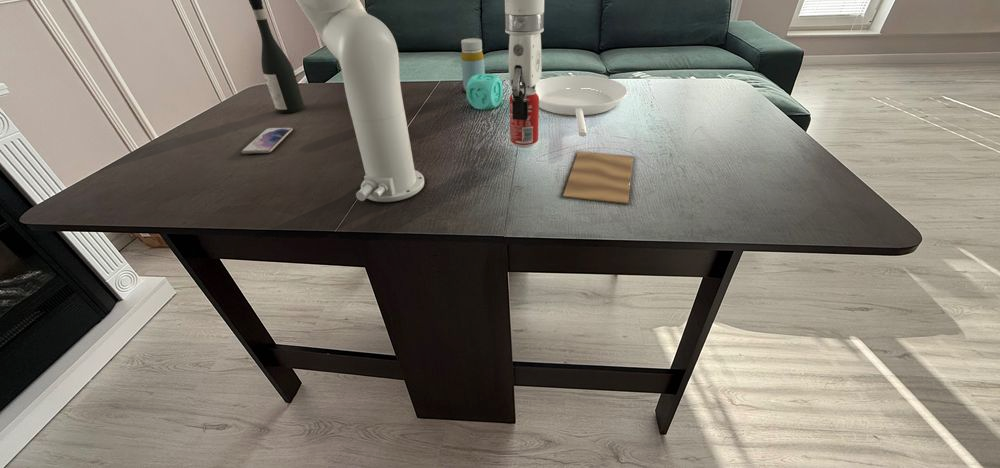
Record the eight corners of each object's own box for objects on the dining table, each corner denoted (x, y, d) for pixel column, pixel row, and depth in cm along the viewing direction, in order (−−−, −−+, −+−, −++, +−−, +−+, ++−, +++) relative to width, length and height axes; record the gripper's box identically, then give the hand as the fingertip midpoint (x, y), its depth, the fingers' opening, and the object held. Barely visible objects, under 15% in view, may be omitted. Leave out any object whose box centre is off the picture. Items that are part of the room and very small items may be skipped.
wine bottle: (281, 116, 123) (241, -1, 106) (273, 109, 128) (233, -3, 111) (308, 109, 127) (274, -4, 110) (300, 103, 132) (266, -6, 115)
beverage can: (538, 138, 99) (539, 86, 92) (537, 149, 94) (538, 95, 87) (511, 138, 100) (510, 86, 93) (509, 149, 95) (508, 95, 88)
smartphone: (293, 127, 114) (269, 150, 101) (294, 130, 114) (270, 153, 102) (266, 127, 114) (239, 151, 101) (267, 130, 114) (241, 154, 102)
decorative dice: (480, 99, 129) (478, 72, 125) (503, 102, 126) (502, 74, 122) (467, 107, 124) (464, 79, 119) (491, 111, 121) (489, 82, 116)
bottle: (460, 89, 139) (456, 39, 130) (480, 85, 141) (477, 37, 132) (468, 95, 133) (464, 43, 125) (489, 91, 136) (486, 40, 127)
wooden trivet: (627, 204, 78) (628, 202, 78) (562, 196, 81) (562, 195, 81) (632, 157, 93) (632, 156, 93) (578, 152, 96) (578, 151, 96)
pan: (618, 87, 134) (620, 74, 132) (644, 145, 98) (646, 129, 96) (528, 88, 137) (528, 75, 134) (521, 145, 101) (521, 129, 99)
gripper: (533, 32, 75) (532, 129, 85) (552, 16, 88) (548, 101, 99) (492, 31, 77) (496, 126, 87) (517, 15, 90) (517, 99, 101)
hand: (524, 112), depth 93 cm, fingers closed on beverage can, 6 cm apart
